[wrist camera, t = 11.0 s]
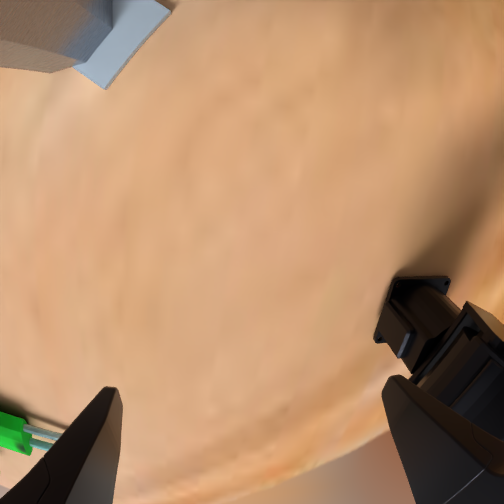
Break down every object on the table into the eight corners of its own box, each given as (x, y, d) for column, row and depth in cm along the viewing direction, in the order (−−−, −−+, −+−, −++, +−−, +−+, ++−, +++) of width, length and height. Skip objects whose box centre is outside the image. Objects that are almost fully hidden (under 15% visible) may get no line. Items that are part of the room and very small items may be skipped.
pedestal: (171, 13, 14) (164, -5, 11) (106, 89, 16) (86, 86, 13) (58, -48, 11) (39, -66, 7) (4, 20, 12) (-23, 12, 9)
